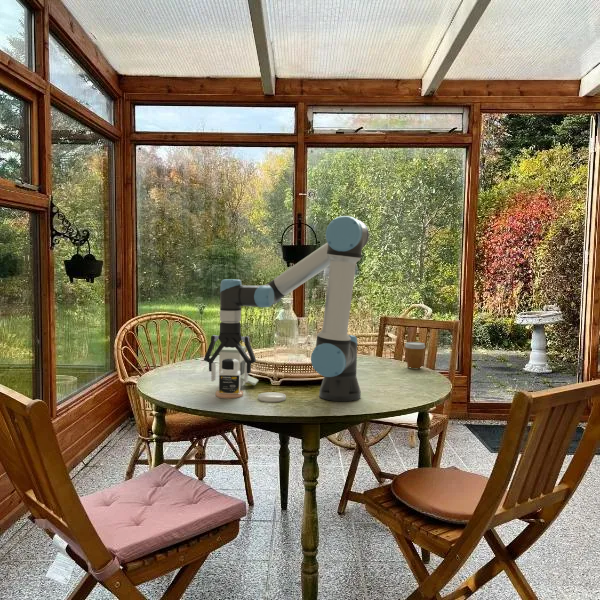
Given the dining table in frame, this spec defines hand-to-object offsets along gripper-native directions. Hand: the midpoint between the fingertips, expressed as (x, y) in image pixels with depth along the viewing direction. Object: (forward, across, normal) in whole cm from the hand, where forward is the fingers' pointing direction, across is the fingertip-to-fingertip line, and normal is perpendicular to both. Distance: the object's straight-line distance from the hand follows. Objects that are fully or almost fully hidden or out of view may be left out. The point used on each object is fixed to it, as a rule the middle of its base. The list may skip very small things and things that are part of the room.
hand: (229, 381), depth 203 cm
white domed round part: (+5, -16, +2) cm, 17 cm away
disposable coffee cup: (+5, -72, -71) cm, 101 cm away
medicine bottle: (+4, 0, 0) cm, 4 cm away
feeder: (+5, 0, -16) cm, 17 cm away
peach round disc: (+5, 0, 0) cm, 5 cm away
